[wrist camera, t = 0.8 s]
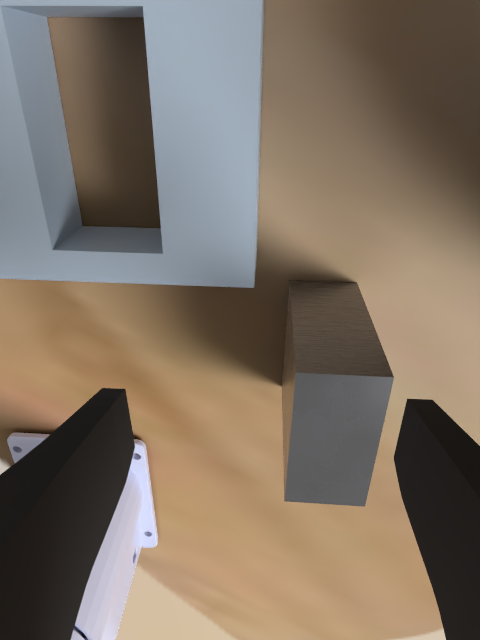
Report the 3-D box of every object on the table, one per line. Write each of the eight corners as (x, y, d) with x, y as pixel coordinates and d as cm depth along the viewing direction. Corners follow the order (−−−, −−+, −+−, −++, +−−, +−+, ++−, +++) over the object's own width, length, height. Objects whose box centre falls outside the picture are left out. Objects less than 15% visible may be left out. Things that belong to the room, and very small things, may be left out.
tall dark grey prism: (340, 389, 23) (364, 506, 16) (281, 386, 23) (284, 501, 17) (356, 282, 20) (393, 377, 13) (289, 280, 20) (295, 372, 14)
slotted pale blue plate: (256, 258, 19) (253, 287, 17) (-113, 246, 20) (-170, 272, 18) (265, -29, 14) (263, -51, 12) (-224, -28, 15) (-327, -48, 13)
